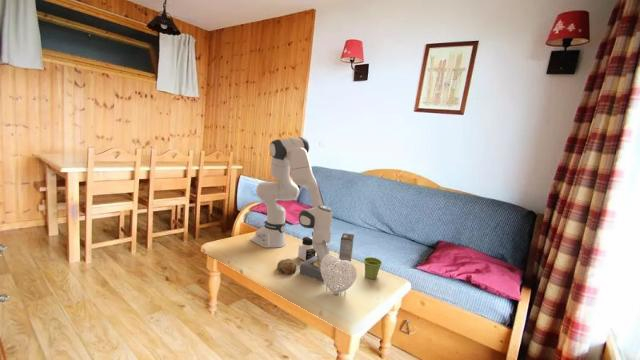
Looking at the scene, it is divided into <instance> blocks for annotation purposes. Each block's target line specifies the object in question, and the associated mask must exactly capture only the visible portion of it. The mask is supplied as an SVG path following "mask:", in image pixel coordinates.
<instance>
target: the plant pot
mask: <svg viewBox="0 0 640 360" xmlns="http://www.w3.org/2000/svg"><path fill="white" fill-rule="evenodd" d="M363 262H364V276H365V278H367V279H369V280H375V279H377V278H378V274H379V270H380V268H381V266H382V264H383V261H382V260H381V259H379V258H376V257H371V256H367V257H364V258H363Z"/></svg>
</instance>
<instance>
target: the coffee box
mask: <svg viewBox="0 0 640 360" xmlns="http://www.w3.org/2000/svg"><path fill="white" fill-rule="evenodd" d="M354 238H355V234H353V233H345V232H343V233H342V235H341V238H340V245H339V254H338V258H339V259H340V260H347V261H350V262H351V263H352V255H353V247H354V246H353V245H354ZM338 264H339V263H338ZM345 264H346V263H345ZM343 266H344V265H343Z"/></svg>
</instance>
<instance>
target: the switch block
mask: <svg viewBox="0 0 640 360" xmlns="http://www.w3.org/2000/svg"><path fill="white" fill-rule="evenodd" d="M314 261H317V255H315V256H314V257H312V258H310V259H308V260H307V261H303V262H302V263H300V264H299V274H301V275H303V276H306V277H309V278H312V279H314V280H316V281H320V282H322V283H325V282H324V280H323V278H322V275H321V270H320V267H317V266H315V265H313V263H314ZM330 262H332V261H330ZM327 263H328V262H327ZM330 264H331V263H330ZM330 264H329V265H330ZM325 265H326V263H325ZM332 265H334V264H332ZM335 266H336V265H335ZM327 267H328V265H327ZM329 267H330V266H329ZM331 267H332V266H331ZM334 268H335V267H334ZM325 269H326V268H325ZM332 270H333V269H332ZM326 271H327V270H326ZM327 273H328V272H327ZM324 275H325V273H324ZM333 275H334V274H333ZM326 279H327V278H326Z"/></svg>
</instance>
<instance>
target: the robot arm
mask: <svg viewBox="0 0 640 360" xmlns="http://www.w3.org/2000/svg"><path fill="white" fill-rule="evenodd" d="M309 151H310V145H309V142H308V140H307V139H306V138H305V137H301V136H299V137H287V138H285V137H284V138H281V139H279V138H278V139H274V140H272V141H271V142H270V144H269V153H270V155H271V161H270V164H271V165H270V175H271V177H273V178H274V179H275V180H277V181H262V182H260V183H258V185H257V186H256V195H257V197H258V198H259V199H260V200H261V201H262V202H263V204H264V205H265V206H266V213H267V214H266V220H264V221H263V224H264V225H263V226H262V227H260V228H259V229H257V230H256V231H255V235H254V236H253V237H251V239H250V241H251V242H253V243H255V244H257V245H259V246H261V247H263V248H265V249H266V248H281V247H284V246H286V245H287V242H286V235H285V234H286V233H285V230H286V213H287V211H286V208H285V207H283V205H280V204H279V203H277V201H293V200H297V198H298V197H299V195H300V188H299V187H302V188H303V189H306V190H307V192H308V194H309V197H310V201H311V205H312V207H310V208H305V209H303V210H301V211H300V212H299V213H298V223H299V225H300V226H302V227H303V228H305V229H313V230H312V232H311V238H312V245H313V248H314V250H315V252H316V253H315V254H316V256H317V262H318V264H321V261H322V259H323V258H324V257H325V256H326V255H330V246H329V245H328V244H329V243H330V242H331V236H332V235H331V234H332V230H331V228H332V225H333V211H332V208H331V207H330V206H328V205H325V203H324V199H323V195H322V192H321V189H320V185H319V182H318V180H317V179H316V177H315V176H314V172H313V169H312V164H311V160H310V157H309V155H308V154H309ZM328 259H329V258H328ZM325 262H326V261H325Z"/></svg>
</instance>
